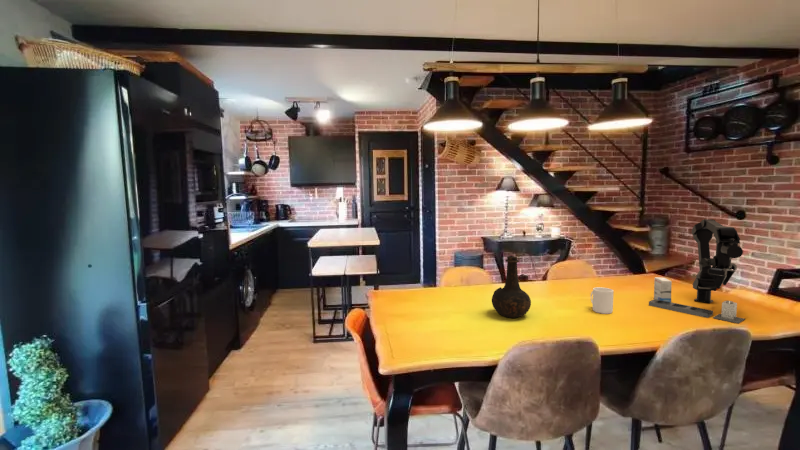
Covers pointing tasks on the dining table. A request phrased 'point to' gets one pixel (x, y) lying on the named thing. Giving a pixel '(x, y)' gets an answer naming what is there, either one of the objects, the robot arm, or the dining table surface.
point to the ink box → (662, 289)
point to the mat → (737, 320)
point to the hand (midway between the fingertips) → (721, 286)
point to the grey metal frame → (681, 308)
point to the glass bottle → (511, 294)
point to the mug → (602, 300)
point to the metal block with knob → (729, 310)
